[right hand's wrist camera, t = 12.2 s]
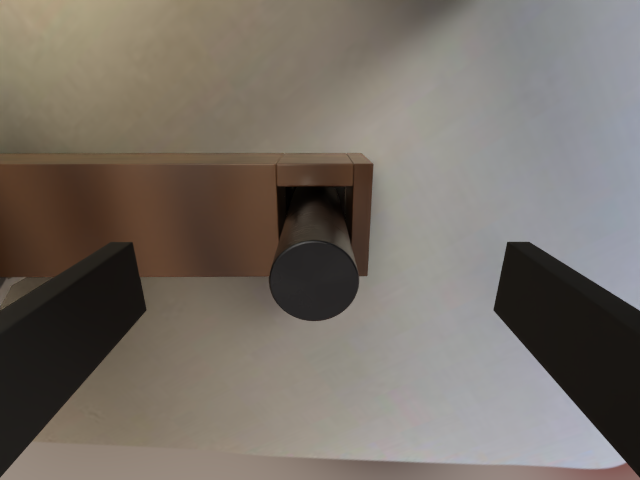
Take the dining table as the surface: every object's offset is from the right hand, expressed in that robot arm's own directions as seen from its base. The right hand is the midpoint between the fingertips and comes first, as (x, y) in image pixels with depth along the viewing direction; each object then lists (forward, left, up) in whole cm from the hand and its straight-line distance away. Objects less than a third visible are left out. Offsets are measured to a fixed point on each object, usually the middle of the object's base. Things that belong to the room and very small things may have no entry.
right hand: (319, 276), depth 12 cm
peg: (0, 0, -12) cm, 12 cm away
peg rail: (0, -10, -12) cm, 16 cm away
